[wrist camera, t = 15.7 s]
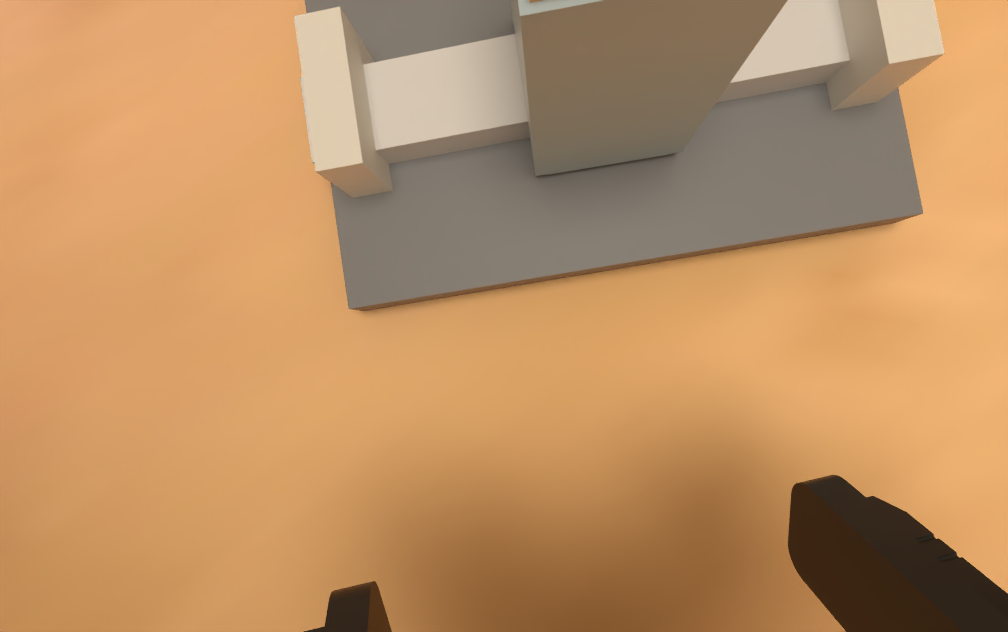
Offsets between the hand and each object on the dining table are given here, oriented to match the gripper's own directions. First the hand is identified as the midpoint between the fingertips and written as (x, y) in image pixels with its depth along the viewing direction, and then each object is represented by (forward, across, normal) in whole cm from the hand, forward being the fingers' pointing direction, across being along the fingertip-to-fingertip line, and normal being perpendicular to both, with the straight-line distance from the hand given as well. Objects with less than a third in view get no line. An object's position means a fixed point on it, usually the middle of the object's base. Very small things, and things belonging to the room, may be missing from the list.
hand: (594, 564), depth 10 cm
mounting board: (+14, -5, -8) cm, 17 cm away
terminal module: (+13, -5, -8) cm, 16 cm away
